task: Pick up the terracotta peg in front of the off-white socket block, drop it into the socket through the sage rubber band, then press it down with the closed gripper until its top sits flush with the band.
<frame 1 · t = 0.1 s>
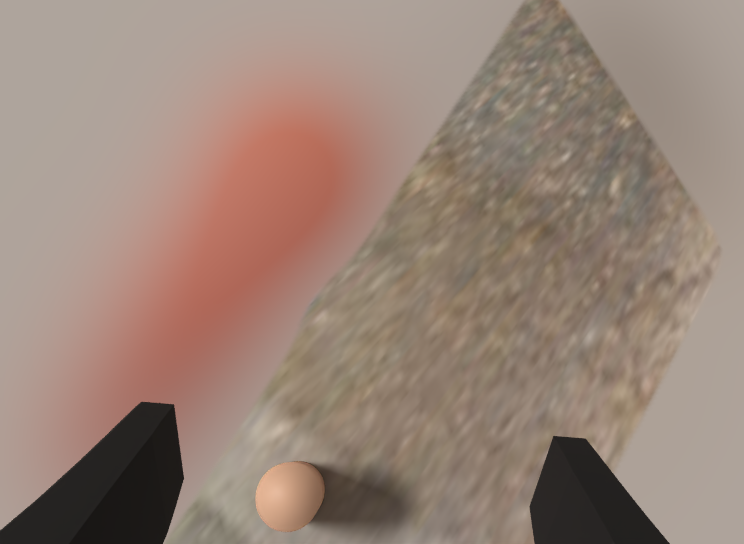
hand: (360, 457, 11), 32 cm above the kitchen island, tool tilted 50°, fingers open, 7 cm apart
peg: (297, 490, 40), on the kitchen island
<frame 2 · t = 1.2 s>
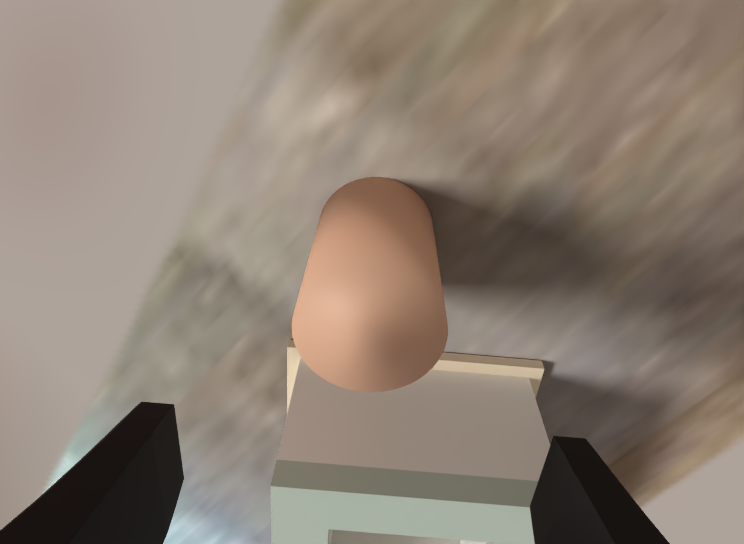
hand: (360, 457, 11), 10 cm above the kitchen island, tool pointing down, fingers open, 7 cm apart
socket: (402, 440, 24), on the kitchen island
peg: (375, 231, 19), on the kitchen island
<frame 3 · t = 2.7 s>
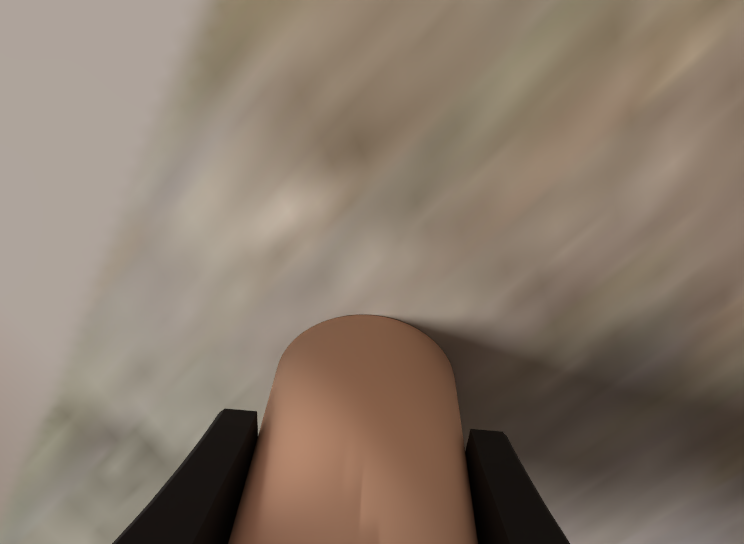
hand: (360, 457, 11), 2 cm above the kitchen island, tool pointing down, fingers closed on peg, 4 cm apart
peg: (365, 388, 12), on the kitchen island, touching gripper
when the fingers open (7 cm above the kitchen island, at t = 5.6 s): peg drops 5 cm, resting on socket.
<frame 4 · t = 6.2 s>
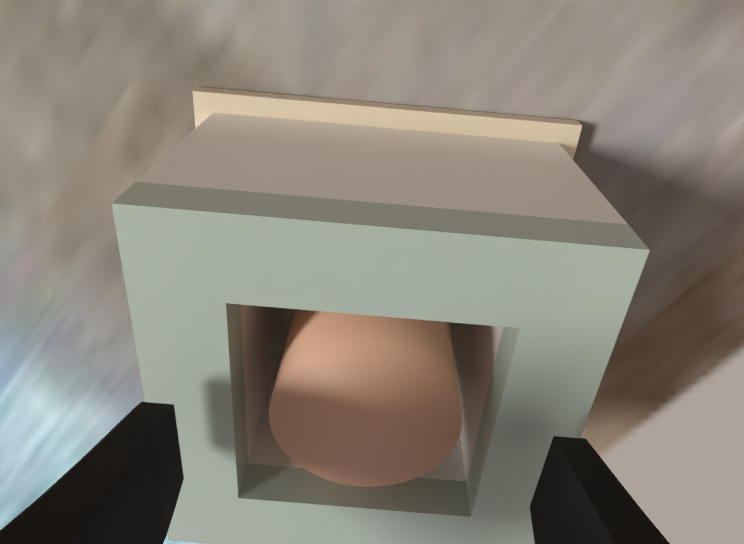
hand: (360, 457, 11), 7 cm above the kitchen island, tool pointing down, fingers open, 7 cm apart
socket: (373, 268, 17), on the kitchen island
peg: (373, 275, 17), point 1 cm above the kitchen island, touching socket
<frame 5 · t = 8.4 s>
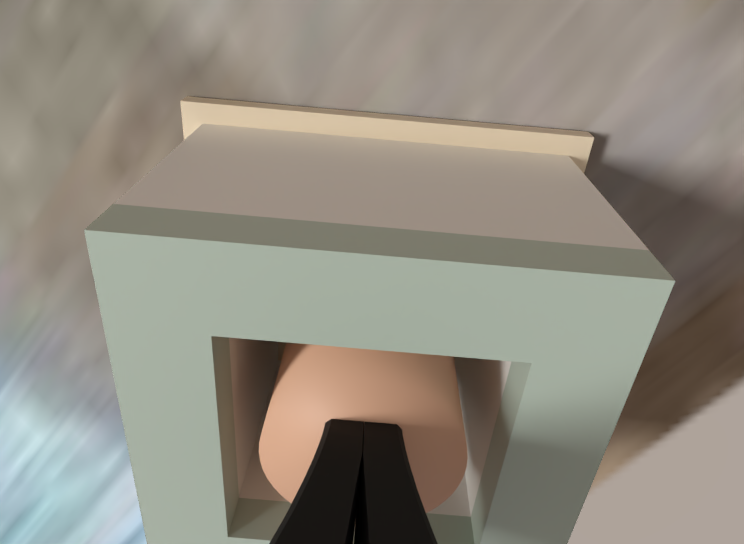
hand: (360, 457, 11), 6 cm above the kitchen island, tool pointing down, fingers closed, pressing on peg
socket: (372, 285, 16), on the kitchen island
peg: (373, 293, 16), resting on socket, touching gripper
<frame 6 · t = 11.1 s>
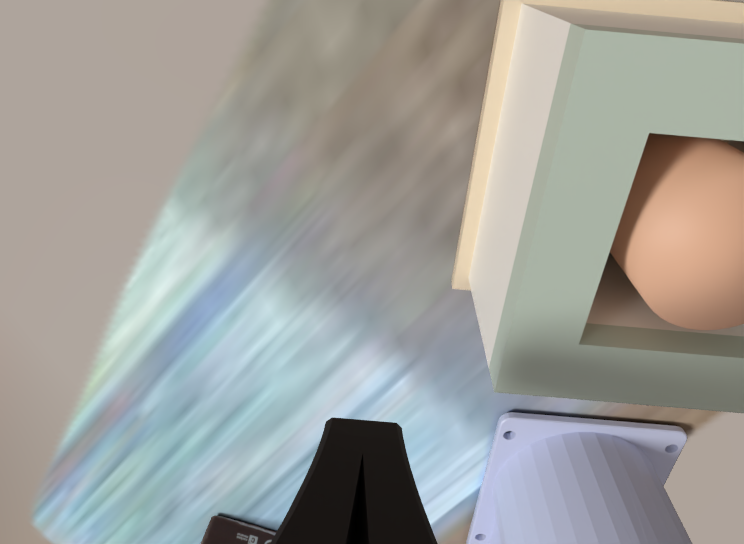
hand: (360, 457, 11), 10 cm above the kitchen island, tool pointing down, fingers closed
socket: (625, 165, 18), on the kitchen island
peg: (632, 169, 18), resting on socket
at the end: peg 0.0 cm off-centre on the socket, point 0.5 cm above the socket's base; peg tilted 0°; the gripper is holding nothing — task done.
